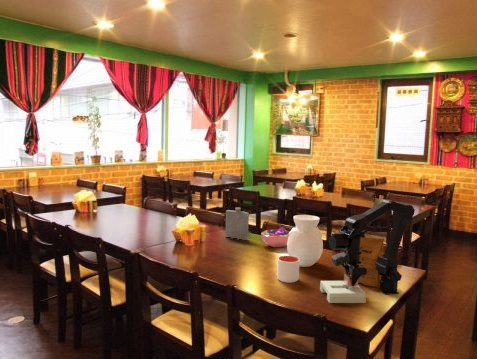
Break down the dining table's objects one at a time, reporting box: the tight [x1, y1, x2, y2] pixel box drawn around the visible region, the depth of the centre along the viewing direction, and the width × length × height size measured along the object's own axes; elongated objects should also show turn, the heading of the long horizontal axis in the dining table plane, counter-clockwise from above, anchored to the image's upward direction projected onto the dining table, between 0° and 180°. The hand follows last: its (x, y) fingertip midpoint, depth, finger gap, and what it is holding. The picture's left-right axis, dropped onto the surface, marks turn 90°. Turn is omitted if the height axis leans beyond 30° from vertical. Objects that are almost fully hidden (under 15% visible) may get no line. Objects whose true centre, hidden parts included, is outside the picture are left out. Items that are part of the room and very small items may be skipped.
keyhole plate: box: [319, 280, 367, 304], centre depth 171 cm, size 15×14×4 cm
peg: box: [343, 272, 359, 289], centre depth 171 cm, size 4×4×9 cm
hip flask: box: [225, 206, 250, 241], centre depth 258 cm, size 16×4×20 cm, turn 62°
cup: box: [276, 255, 300, 284], centre depth 188 cm, size 10×10×10 cm
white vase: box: [286, 214, 324, 268], centre depth 211 cm, size 19×18×25 cm
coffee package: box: [358, 235, 385, 288], centre depth 187 cm, size 10×12×22 cm
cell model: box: [260, 226, 291, 248], centre depth 244 cm, size 17×20×11 cm
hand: (350, 283), depth 171 cm, fingers closed on peg, 4 cm apart
